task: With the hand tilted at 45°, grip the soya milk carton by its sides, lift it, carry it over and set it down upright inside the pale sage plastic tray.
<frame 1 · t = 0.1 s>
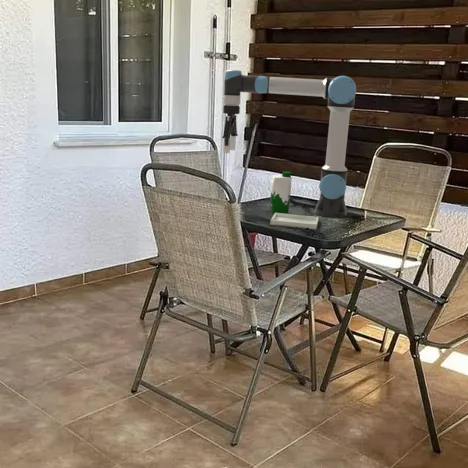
hand: (229, 151, 284), 28 cm above the table, tool pointing down, fingers open, 13 cm apart
tray: (294, 223, 273), on the table
soya milk: (278, 214, 290), on the table
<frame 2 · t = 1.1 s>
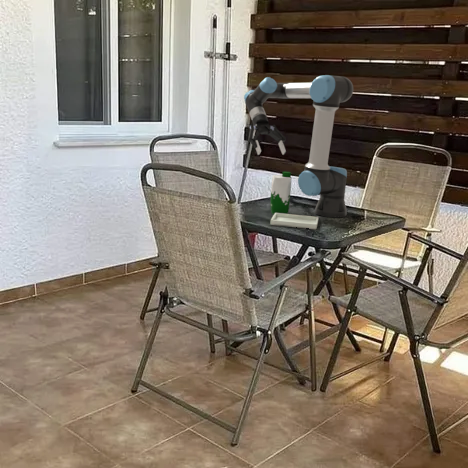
hand: (272, 152, 292), 28 cm above the table, tool tilted 45°, fingers open, 13 cm apart
nothing on the table moved.
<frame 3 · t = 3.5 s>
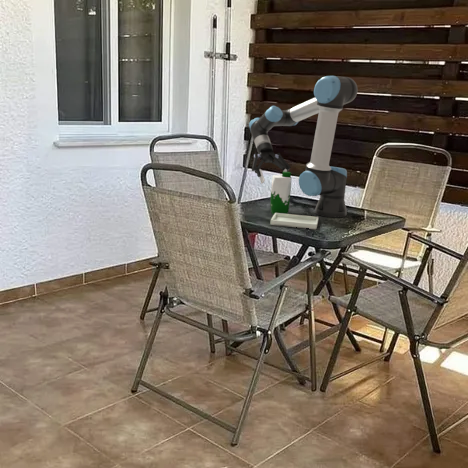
hand: (275, 181, 290), 14 cm above the table, tool tilted 45°, fingers open, 13 cm apart
nothing on the table moved.
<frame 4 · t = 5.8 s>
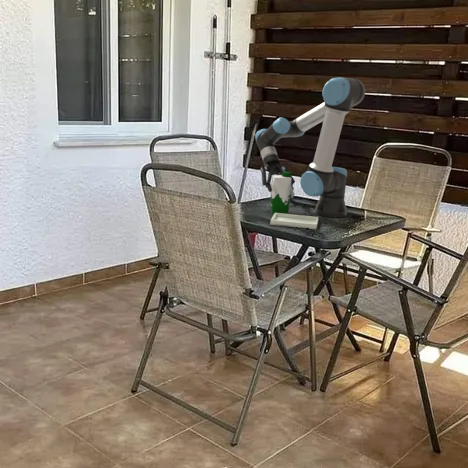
hand: (283, 196, 285), 9 cm above the table, tool tilted 45°, fingers closed on soya milk, 9 cm apart
soya milk: (278, 214, 290), on the table, touching gripper
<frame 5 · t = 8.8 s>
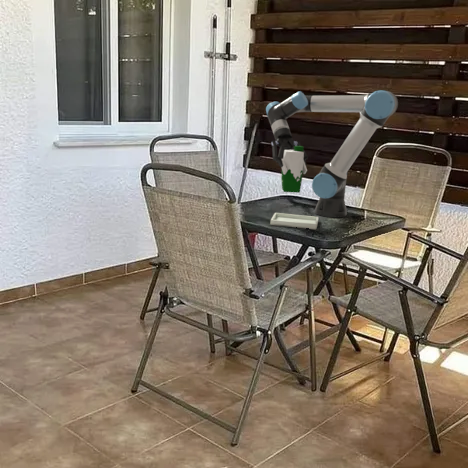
hand: (295, 172, 268), 23 cm above the table, tool tilted 45°, fingers closed on soya milk, 9 cm apart
soya milk: (290, 191, 273), point 14 cm above the table, touching gripper
when the fingers open (11 cm above the table, at t = 11.9 s): soya milk drops 1 cm, resting on tray.
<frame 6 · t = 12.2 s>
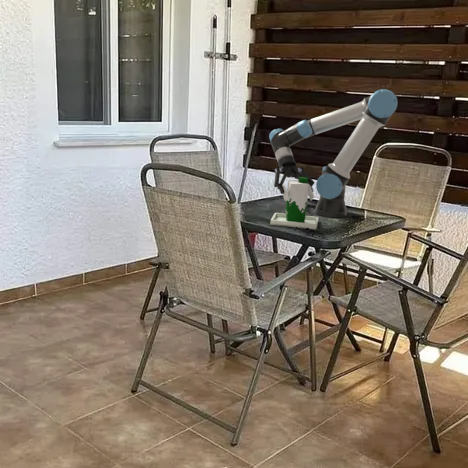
hand: (299, 199, 267), 11 cm above the table, tool tilted 45°, fingers open, 12 cm apart
soya milk: (294, 222, 272), point 1 cm above the table, touching tray
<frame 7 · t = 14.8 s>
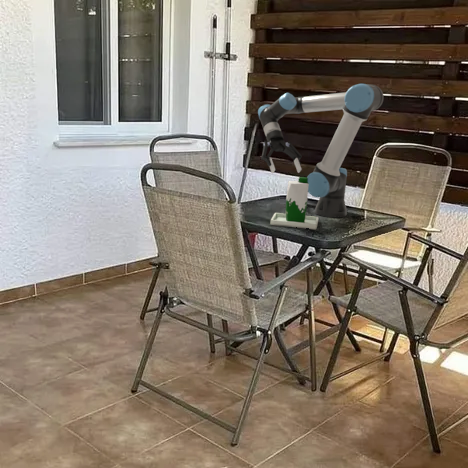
hand: (286, 171, 276), 22 cm above the table, tool tilted 45°, fingers open, 13 cm apart
nothing on the table moved.
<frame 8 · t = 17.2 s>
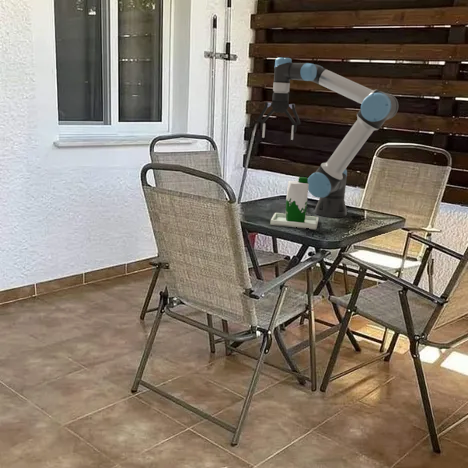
hand: (277, 138, 288), 35 cm above the table, tool pointing down, fingers open, 13 cm apart
nothing on the table moved.
at the end: soya milk inside the target area on the tray (0.1 cm from its centre), point 0.4 cm above the tray's base; soya milk tilted 0°; the gripper is holding nothing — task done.
